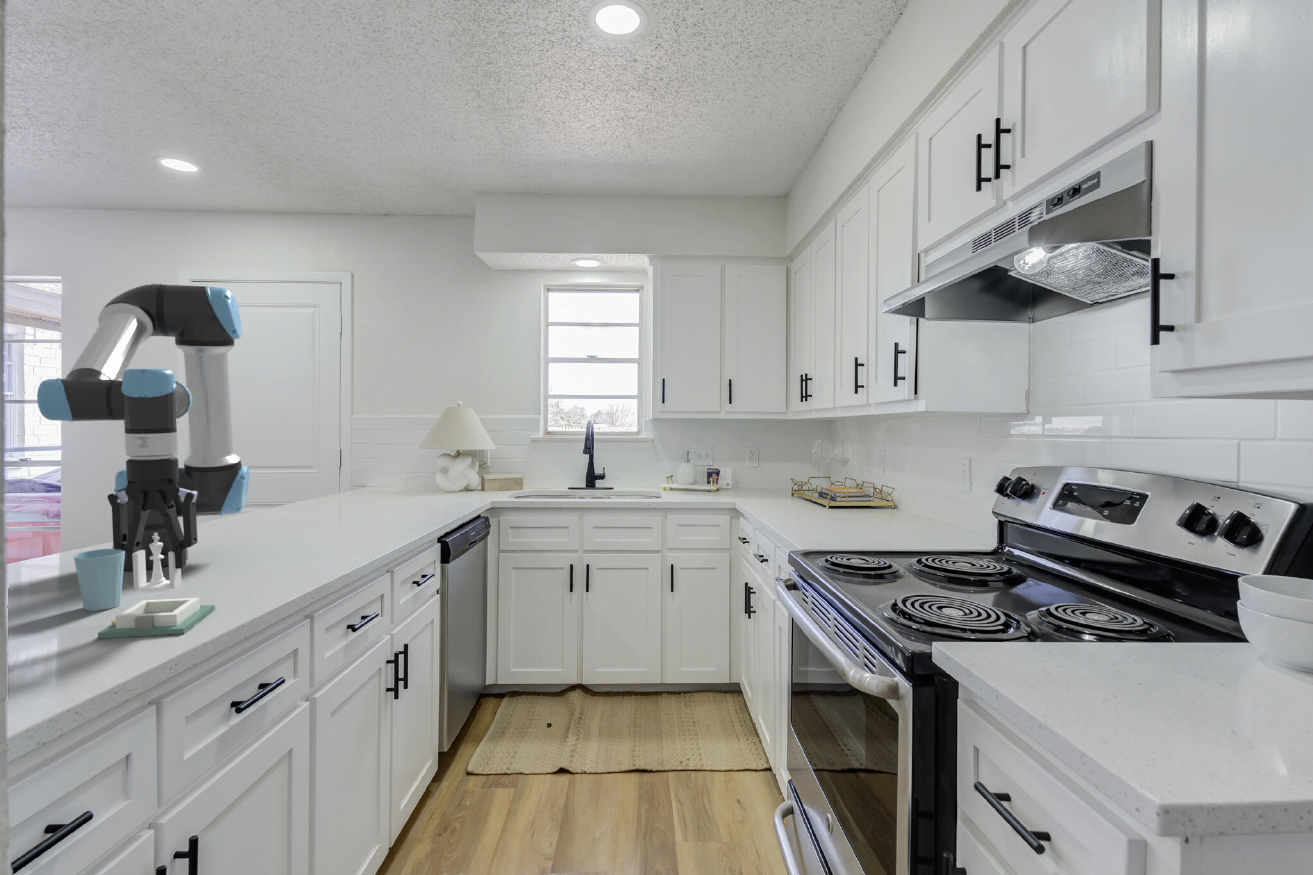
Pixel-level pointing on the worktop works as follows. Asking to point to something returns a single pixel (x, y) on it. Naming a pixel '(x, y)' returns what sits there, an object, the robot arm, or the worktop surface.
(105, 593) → the cup
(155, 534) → the chess piece
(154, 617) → the header board
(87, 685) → the worktop surface
